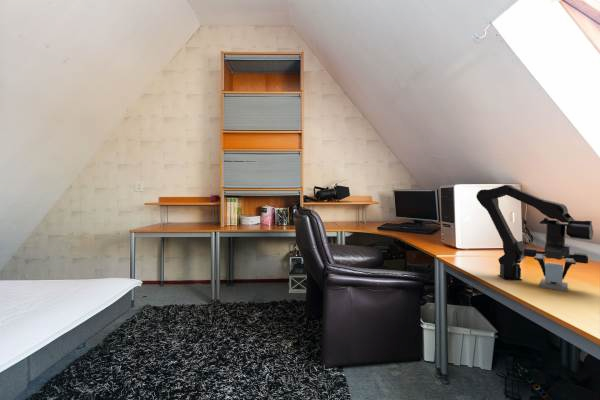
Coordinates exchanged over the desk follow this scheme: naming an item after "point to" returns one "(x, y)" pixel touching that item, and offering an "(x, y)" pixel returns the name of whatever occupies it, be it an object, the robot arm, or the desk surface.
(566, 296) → the desk surface
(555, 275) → the pale blue cube
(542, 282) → the base plate
